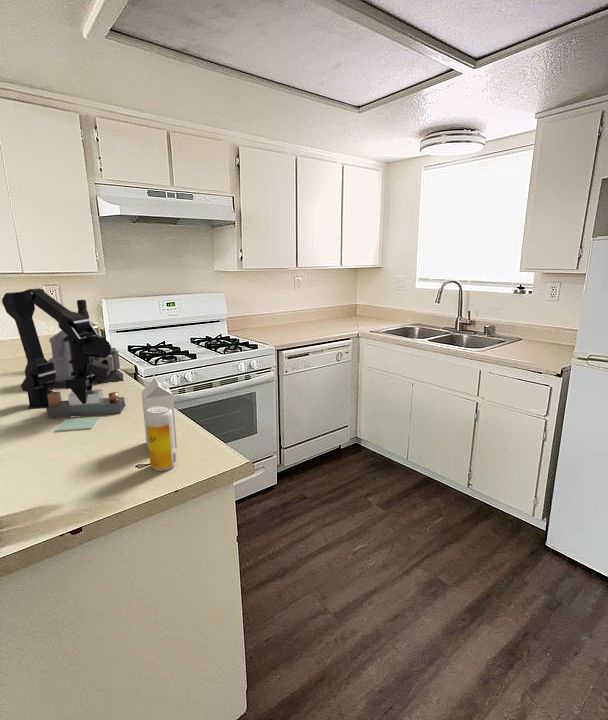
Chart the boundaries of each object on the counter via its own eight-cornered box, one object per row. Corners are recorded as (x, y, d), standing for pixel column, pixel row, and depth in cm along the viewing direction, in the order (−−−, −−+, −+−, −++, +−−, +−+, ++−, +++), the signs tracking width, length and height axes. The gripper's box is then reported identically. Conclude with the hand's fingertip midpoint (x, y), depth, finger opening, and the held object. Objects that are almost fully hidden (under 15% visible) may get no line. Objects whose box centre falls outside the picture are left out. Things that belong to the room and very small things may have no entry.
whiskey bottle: (105, 367, 196) (97, 299, 188) (85, 371, 188) (76, 301, 180) (93, 364, 201) (85, 298, 194) (73, 368, 193) (63, 300, 186)
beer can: (154, 460, 105) (149, 405, 101) (178, 459, 105) (174, 404, 102) (147, 472, 99) (141, 414, 95) (173, 471, 99) (168, 413, 96)
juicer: (39, 391, 160) (29, 329, 154) (46, 380, 174) (38, 323, 169) (123, 382, 171) (117, 324, 166) (123, 373, 186) (117, 319, 180)
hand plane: (47, 418, 132) (44, 396, 131) (55, 411, 139) (52, 390, 137) (120, 413, 137) (118, 392, 135) (125, 406, 144) (122, 385, 142)
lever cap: (69, 405, 134) (67, 393, 133) (74, 400, 139) (72, 388, 138) (99, 403, 136) (97, 391, 135) (103, 399, 140) (101, 387, 139)
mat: (54, 432, 122) (54, 430, 122) (65, 420, 131) (64, 419, 131) (91, 429, 124) (91, 427, 124) (99, 418, 133) (98, 416, 133)
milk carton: (149, 452, 109) (143, 384, 105) (146, 442, 116) (139, 377, 111) (177, 446, 113) (171, 380, 108) (172, 437, 119) (167, 373, 114)
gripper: (99, 360, 126) (105, 408, 130) (113, 348, 144) (118, 390, 148) (59, 362, 124) (67, 411, 128) (79, 349, 142) (84, 393, 145)
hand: (86, 401), depth 137 cm, fingers closed on lever cap, 5 cm apart
